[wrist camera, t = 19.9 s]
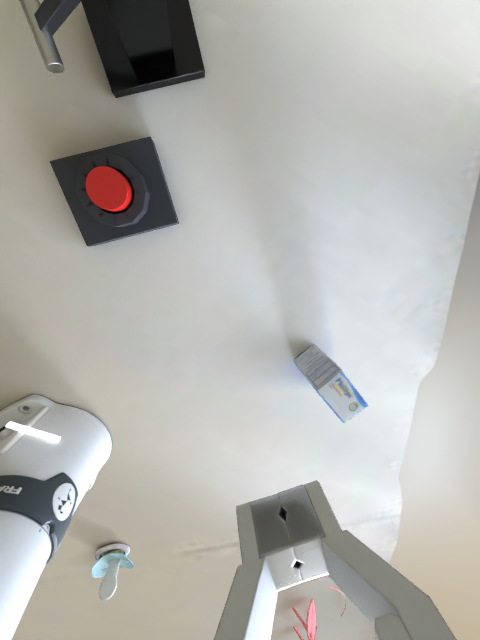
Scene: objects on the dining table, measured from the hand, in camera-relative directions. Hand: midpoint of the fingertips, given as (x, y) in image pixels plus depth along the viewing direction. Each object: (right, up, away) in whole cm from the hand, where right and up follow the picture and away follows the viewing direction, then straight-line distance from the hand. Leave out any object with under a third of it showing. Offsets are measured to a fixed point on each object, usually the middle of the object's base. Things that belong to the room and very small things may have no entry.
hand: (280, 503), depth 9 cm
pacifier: (-25, -38, +40) cm, 61 cm away
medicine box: (+11, -1, +33) cm, 35 cm away
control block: (-16, +21, +22) cm, 34 cm away
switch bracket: (-11, +35, +18) cm, 41 cm away
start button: (-15, +20, +18) cm, 31 cm away
